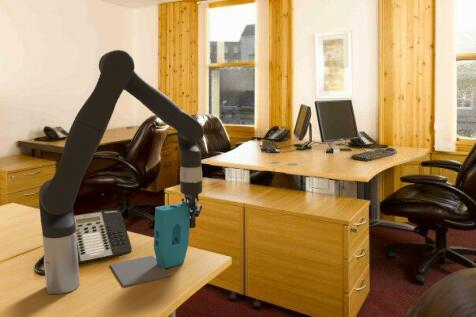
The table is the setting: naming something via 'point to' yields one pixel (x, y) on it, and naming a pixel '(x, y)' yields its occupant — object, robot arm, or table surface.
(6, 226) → the table surface
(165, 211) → the block
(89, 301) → the table surface
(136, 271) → the mat
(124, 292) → the table surface
